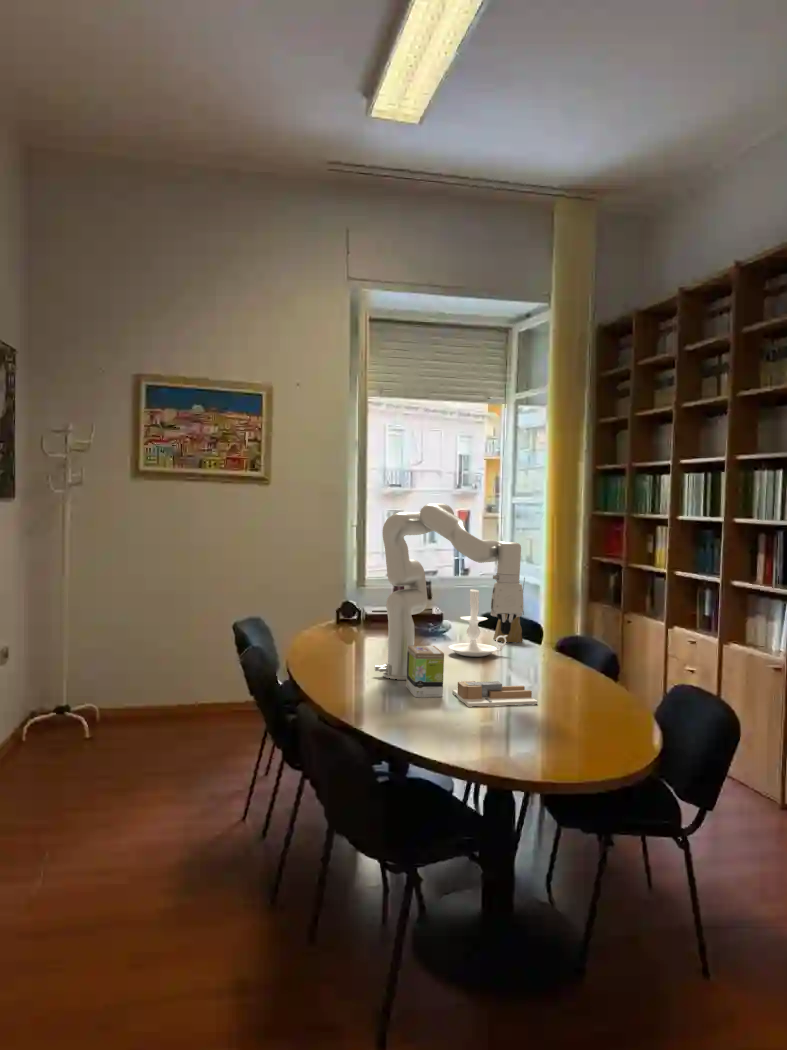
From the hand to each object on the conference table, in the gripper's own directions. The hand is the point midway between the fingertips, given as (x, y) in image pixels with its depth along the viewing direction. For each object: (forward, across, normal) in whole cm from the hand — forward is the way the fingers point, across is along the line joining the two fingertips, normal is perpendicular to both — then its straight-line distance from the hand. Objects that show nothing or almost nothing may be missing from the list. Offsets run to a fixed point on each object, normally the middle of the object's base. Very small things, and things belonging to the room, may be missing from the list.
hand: (505, 633), depth 271 cm
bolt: (+19, -9, -6) cm, 22 cm away
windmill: (+22, +37, +99) cm, 108 cm away
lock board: (+20, -5, -6) cm, 22 cm away
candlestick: (+22, +12, +66) cm, 71 cm away
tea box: (+22, -25, +6) cm, 34 cm away
